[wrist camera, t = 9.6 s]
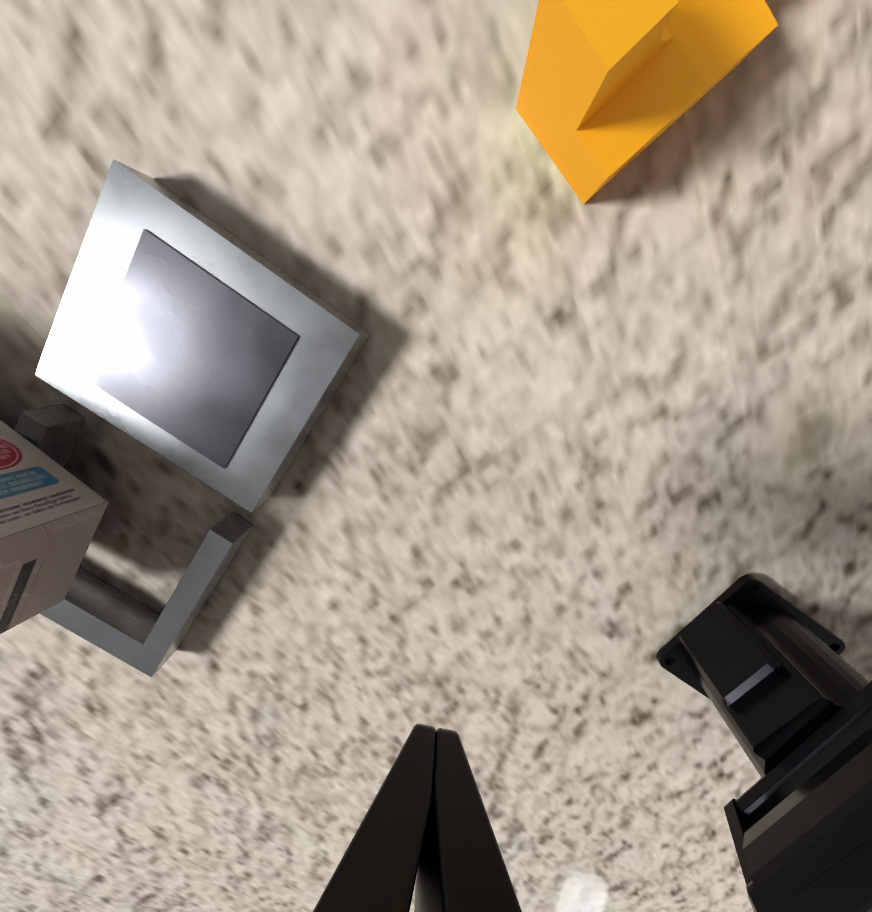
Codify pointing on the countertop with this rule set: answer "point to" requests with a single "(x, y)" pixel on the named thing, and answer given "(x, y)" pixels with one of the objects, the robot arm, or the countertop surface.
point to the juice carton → (39, 528)
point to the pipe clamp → (626, 74)
